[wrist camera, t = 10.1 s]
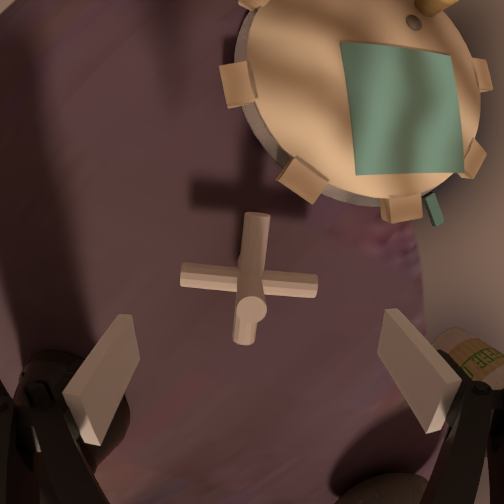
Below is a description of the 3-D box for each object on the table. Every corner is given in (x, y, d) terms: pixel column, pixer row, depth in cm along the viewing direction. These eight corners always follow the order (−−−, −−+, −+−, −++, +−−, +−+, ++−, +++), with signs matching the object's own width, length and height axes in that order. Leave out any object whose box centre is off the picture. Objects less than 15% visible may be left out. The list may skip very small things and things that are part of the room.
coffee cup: (451, 299, 31) (537, 368, 17) (487, 332, 33) (557, 394, 18) (398, 367, 33) (458, 457, 19) (440, 390, 35) (495, 465, 20)
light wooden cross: (311, 211, 28) (346, 237, 18) (294, 315, 31) (315, 378, 21) (195, 199, 27) (171, 219, 18) (189, 306, 30) (169, 368, 20)
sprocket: (400, 272, 28) (451, 312, 20) (159, 105, 24) (122, 81, 15) (508, 81, 23) (563, 72, 14) (321, -74, 19) (342, -125, 10)
